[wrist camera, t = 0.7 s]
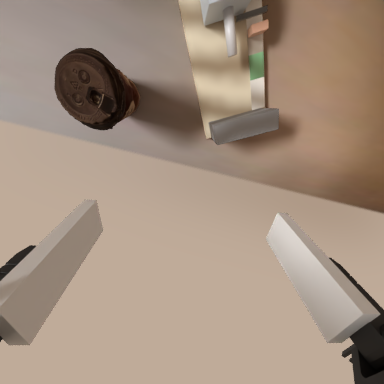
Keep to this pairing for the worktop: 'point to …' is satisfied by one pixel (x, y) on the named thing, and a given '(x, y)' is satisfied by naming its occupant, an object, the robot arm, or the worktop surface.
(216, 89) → the board
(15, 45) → the worktop surface
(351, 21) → the worktop surface
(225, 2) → the block
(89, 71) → the coffee cup
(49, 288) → the robot arm
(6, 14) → the worktop surface
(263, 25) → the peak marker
